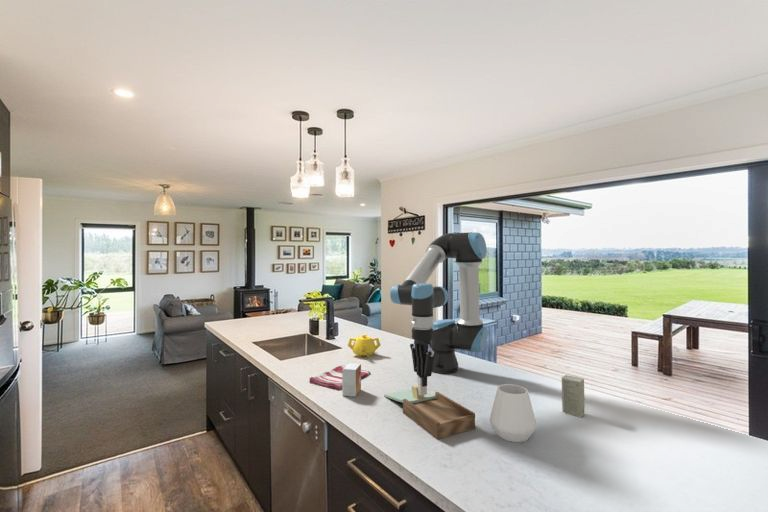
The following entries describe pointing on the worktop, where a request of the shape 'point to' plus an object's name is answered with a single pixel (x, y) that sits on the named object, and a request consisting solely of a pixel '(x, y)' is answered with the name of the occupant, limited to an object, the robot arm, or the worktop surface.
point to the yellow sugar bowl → (364, 345)
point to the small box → (351, 380)
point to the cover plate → (409, 395)
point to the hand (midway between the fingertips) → (422, 394)
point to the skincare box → (573, 395)
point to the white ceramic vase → (512, 413)
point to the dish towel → (333, 378)
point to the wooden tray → (440, 416)
